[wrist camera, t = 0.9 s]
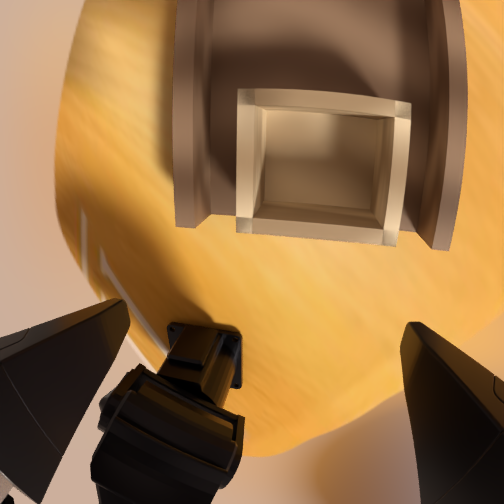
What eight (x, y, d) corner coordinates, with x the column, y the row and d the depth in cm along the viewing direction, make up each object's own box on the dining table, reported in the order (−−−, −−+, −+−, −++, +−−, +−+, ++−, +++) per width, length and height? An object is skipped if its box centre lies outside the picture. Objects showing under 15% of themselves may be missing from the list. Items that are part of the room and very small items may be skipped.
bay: (430, 230, 18) (468, 269, 13) (195, 210, 21) (154, 240, 15) (435, -13, 11) (468, -48, 6) (200, -28, 14) (164, -68, 8)
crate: (378, 220, 18) (396, 246, 14) (252, 209, 19) (236, 232, 15) (388, 109, 15) (411, 103, 11) (255, 98, 17) (237, 88, 13)
